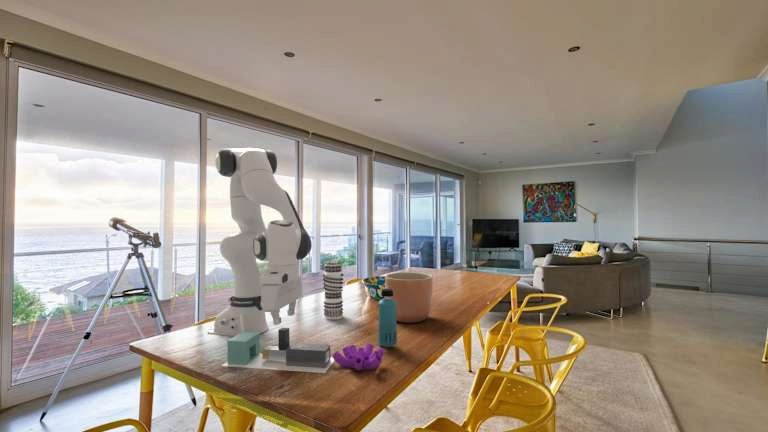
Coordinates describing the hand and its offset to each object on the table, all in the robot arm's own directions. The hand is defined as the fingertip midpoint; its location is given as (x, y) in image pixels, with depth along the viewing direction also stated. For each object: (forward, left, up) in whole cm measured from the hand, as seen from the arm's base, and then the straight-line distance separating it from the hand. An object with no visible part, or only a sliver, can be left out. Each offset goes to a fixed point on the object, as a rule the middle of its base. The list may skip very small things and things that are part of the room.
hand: (284, 319), depth 109 cm
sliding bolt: (+3, 0, -12) cm, 12 cm away
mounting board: (-2, 0, -14) cm, 14 cm away
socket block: (-14, 0, -13) cm, 19 cm away
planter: (+32, +54, -14) cm, 65 cm away
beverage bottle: (+28, +19, -14) cm, 37 cm away
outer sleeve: (+7, 0, -13) cm, 15 cm away
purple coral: (+24, +1, -14) cm, 28 cm away
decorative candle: (-2, +53, -14) cm, 55 cm away
